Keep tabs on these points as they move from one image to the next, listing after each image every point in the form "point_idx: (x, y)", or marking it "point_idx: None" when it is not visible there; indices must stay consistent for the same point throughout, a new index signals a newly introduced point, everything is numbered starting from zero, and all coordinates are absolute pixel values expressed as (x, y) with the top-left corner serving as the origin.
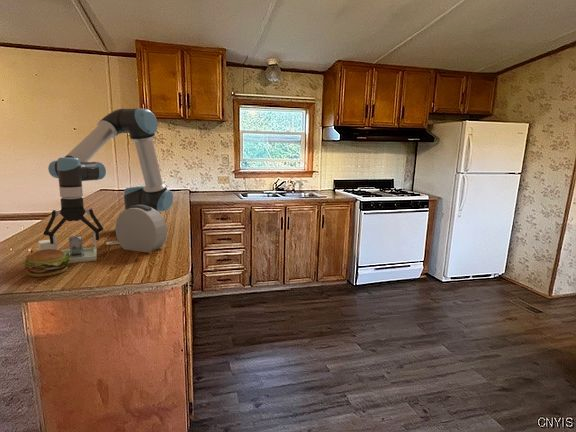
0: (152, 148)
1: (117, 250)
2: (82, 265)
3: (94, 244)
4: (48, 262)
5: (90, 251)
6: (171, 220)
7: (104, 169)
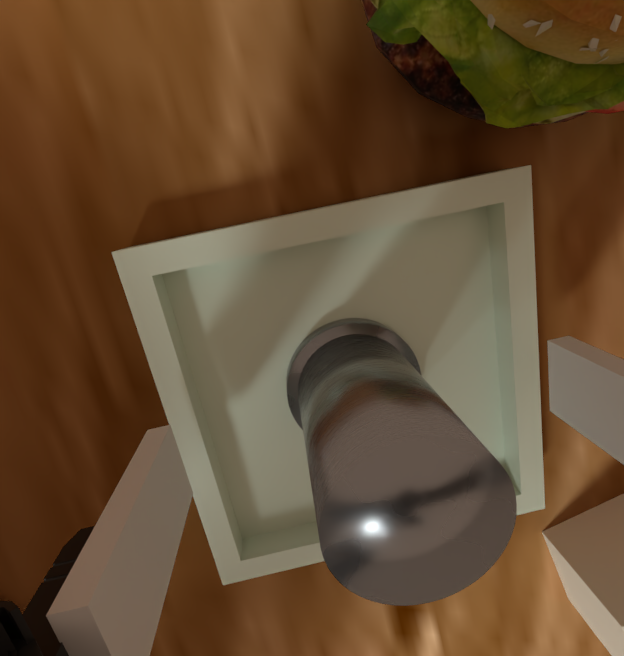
0: None
1: (34, 554)
2: (223, 81)
3: (150, 458)
4: None
5: (265, 514)
6: None
7: None
